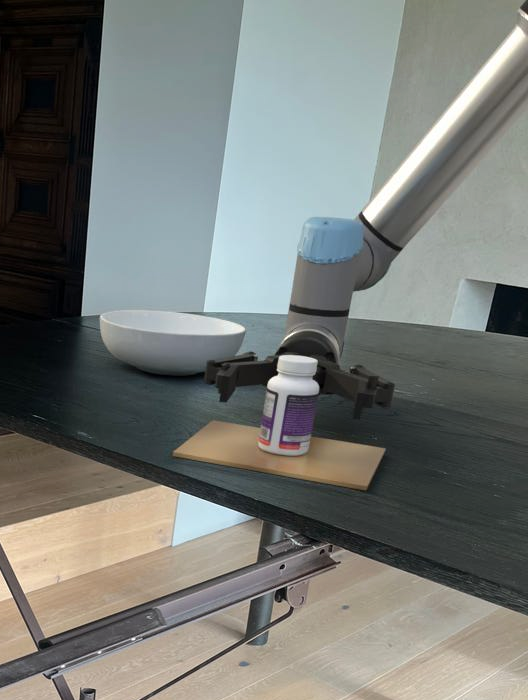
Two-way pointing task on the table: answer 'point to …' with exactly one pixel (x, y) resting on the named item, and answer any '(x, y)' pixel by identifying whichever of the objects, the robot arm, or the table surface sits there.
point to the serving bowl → (169, 340)
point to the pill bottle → (290, 407)
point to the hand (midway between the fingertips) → (290, 397)
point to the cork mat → (316, 465)
